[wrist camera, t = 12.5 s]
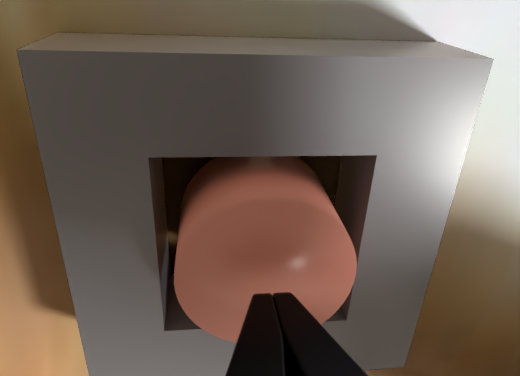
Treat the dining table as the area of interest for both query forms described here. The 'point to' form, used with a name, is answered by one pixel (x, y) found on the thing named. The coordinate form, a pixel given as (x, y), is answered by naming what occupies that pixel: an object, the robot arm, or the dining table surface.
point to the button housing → (244, 145)
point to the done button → (259, 242)
